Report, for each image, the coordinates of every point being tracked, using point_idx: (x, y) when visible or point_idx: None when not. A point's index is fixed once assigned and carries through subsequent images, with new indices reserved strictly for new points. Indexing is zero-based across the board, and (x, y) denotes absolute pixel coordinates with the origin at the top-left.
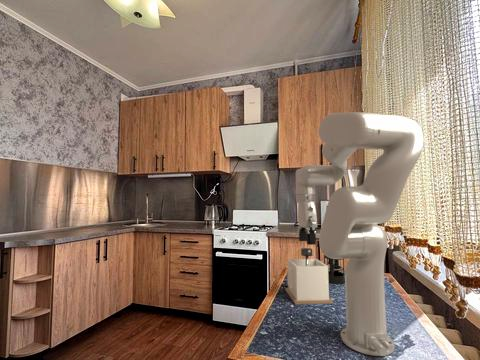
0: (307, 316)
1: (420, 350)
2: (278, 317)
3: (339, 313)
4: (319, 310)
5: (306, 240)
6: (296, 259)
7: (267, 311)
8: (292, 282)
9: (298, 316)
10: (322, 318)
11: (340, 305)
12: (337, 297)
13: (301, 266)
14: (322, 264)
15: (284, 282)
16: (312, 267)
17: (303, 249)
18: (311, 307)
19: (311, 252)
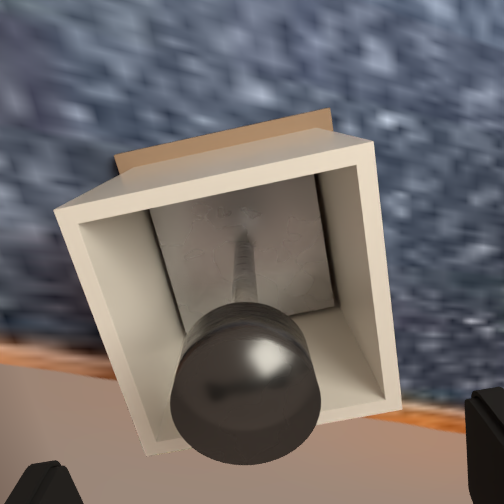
0: (477, 258)
1: None
2: (481, 366)
3: (450, 102)
4: (416, 196)
5: (66, 472)
6: (138, 395)
7: (427, 404)
8: None
9: (475, 294)
10: (499, 197)
11: (350, 69)
12: (230, 55)
13: (389, 374)
14: (277, 180)
15: (37, 337)
16: (385, 286)
17: (288, 442)
18: (383, 229)
19: (294, 338)
